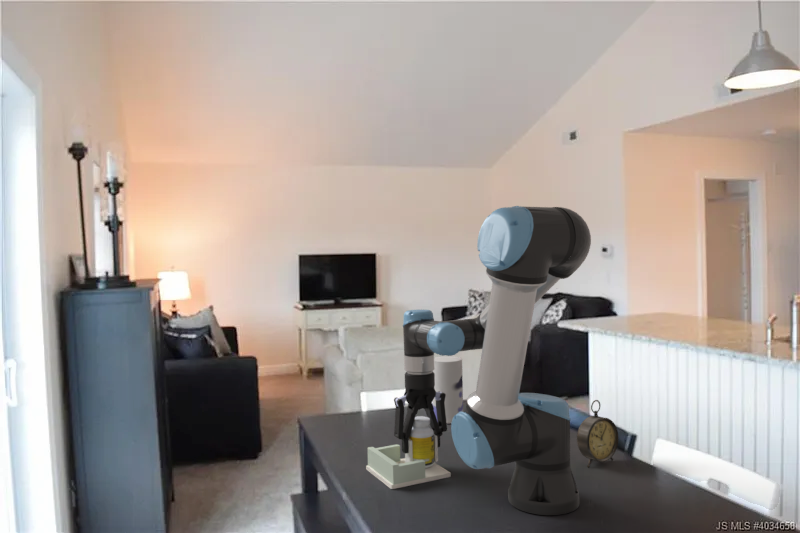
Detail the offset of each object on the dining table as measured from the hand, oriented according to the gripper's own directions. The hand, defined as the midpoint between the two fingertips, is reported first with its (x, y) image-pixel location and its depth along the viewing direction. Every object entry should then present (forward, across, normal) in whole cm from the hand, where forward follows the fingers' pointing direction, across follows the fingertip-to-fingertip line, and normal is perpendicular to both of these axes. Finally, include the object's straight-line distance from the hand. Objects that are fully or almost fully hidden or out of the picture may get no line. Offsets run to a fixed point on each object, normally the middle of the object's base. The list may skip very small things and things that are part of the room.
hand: (421, 462), depth 155 cm
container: (+2, -29, -36) cm, 46 cm away
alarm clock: (+2, -41, +18) cm, 45 cm away
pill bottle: (+1, 0, 0) cm, 1 cm away
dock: (+2, +4, 0) cm, 4 cm away
